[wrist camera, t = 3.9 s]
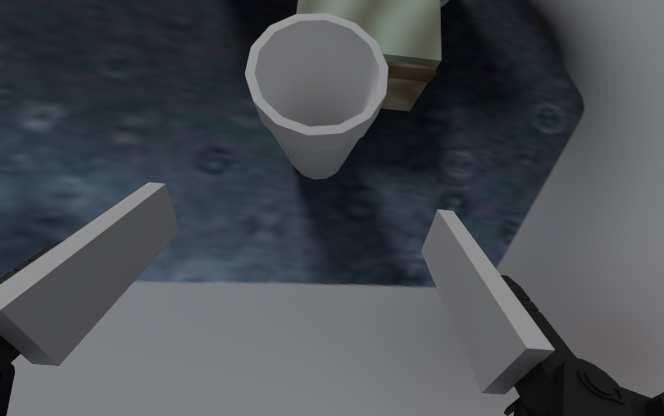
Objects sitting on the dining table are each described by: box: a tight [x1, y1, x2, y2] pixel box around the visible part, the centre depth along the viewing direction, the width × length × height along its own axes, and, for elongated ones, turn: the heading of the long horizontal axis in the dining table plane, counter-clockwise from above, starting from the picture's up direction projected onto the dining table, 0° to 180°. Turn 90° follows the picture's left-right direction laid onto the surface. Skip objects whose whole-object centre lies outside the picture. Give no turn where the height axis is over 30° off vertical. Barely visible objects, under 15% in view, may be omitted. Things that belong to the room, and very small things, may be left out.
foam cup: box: [245, 13, 388, 180], centre depth 22 cm, size 10×9×13 cm
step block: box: [296, 0, 441, 111], centre depth 28 cm, size 14×14×8 cm
